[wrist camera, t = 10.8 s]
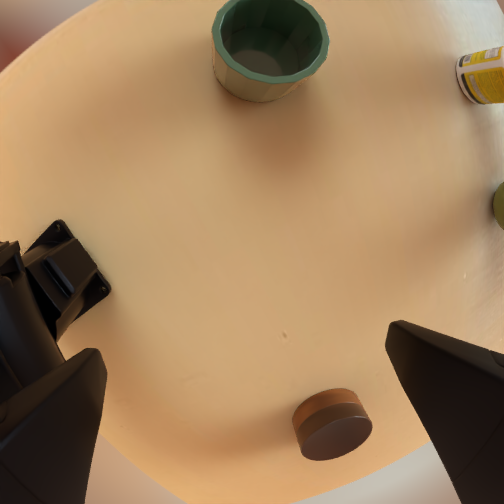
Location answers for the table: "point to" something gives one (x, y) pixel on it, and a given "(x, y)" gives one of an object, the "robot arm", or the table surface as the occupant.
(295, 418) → the teak chip
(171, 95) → the table surface
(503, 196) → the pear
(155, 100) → the table surface
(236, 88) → the plastic cup
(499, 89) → the supplement bottle
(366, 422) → the walnut chip
